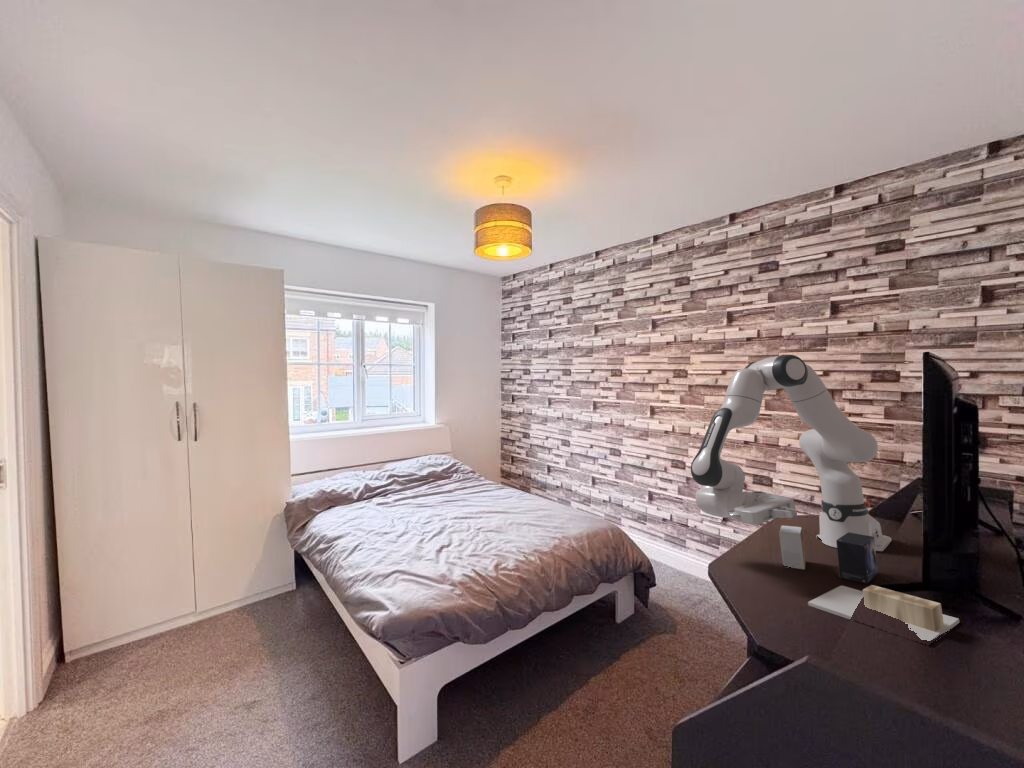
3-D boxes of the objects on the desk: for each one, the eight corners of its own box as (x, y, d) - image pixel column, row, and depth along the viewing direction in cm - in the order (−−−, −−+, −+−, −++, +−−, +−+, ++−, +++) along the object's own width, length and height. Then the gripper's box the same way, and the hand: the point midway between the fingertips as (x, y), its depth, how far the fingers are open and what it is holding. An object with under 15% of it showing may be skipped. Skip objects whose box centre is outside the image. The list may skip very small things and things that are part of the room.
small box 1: (805, 570, 123) (800, 533, 124) (782, 567, 126) (778, 531, 127) (806, 561, 129) (802, 526, 130) (784, 558, 133) (781, 524, 133)
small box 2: (869, 585, 111) (864, 545, 111) (839, 578, 116) (834, 540, 117) (880, 574, 117) (875, 535, 118) (851, 568, 122) (846, 531, 123)
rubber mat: (841, 588, 110) (841, 585, 110) (959, 622, 91) (958, 618, 91) (808, 605, 102) (807, 602, 103) (928, 646, 83) (928, 642, 83)
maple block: (871, 584, 99) (940, 603, 89) (874, 604, 99) (943, 625, 89) (862, 589, 97) (931, 609, 87) (865, 609, 97) (935, 631, 86)
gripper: (722, 503, 123) (770, 510, 111) (763, 490, 133) (811, 495, 120) (726, 525, 122) (774, 534, 110) (766, 510, 132) (815, 517, 120)
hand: (794, 514), depth 115 cm, fingers closed
